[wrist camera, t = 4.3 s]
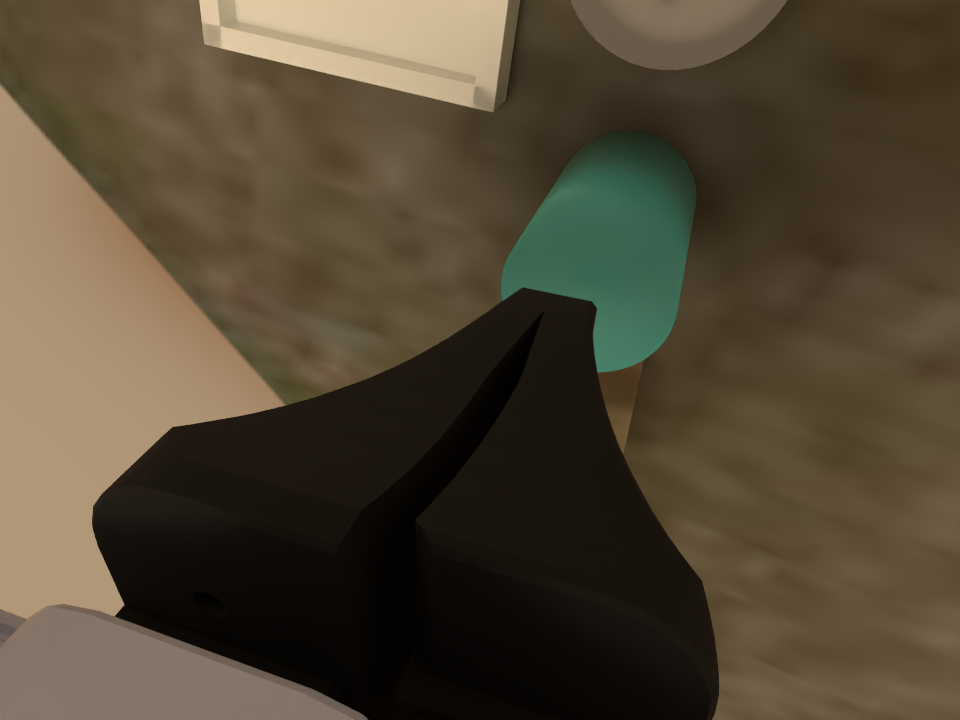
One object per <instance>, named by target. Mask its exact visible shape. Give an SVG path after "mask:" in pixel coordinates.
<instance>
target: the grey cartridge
mask: <svg viewBox="0 0 960 720" xmlns="http://www.w3.org/2000/svg"><path fill="white" fill-rule="evenodd" d="M570 2H571V4H572V6H573V8H574V10H575V12H576V14H577V16H578V18H579V19H580V21H581V22H582V24H583V25H584V27H585V28H586V30H587V31H588V32H589V33H590V34H591V35H592V36H593V37H594V39H595V40H596V41H597V42H599V43H600V44H601V45H602V46H603V47H604V48H606V49H607V50H608V51H610V52H611V53H613V54H614V55H616V56H618V57H619V58H621V59H623V60H626V61H628V62H630V63H632V64H635V65H639V66H642V67H646V68H652V69H658V70H680V69H688V68H694V67H698V66H701V65H705V64H708V63H711V62H713V61H716V60H718V59H721V58H723V57H725V56H727V55H729V54H730V53H732V52H734V51H736V50H738V49H739V48H741V47H742V46H743V45H745V44H746V43H748V42H749V41H750V40H752V39H753V38H754V37H755V36H756V35H757V34H759V33H760V32H761V31H762V30H763V29H764V28H765V27H766V26H767V25H768V24H769V23H770V22H771V21H772V20H773V18H774V17H775V16H776V15H777V14H778V13H779V11H780V10H781V9H782V7H783V6H784V4H785V3H786V2H787V0H570Z"/></svg>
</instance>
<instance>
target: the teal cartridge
mask: <svg viewBox="0 0 960 720" xmlns="http://www.w3.org/2000/svg"><path fill="white" fill-rule="evenodd" d="M696 201H697V194H696V185H695V180H694V177H693V174H692V172H691V170H690V168H689V166H688V164H687V163H686V161H685V160H684V158H683V157H682V156H681V155H680V153H679V152H678V151H677V150H676V149H674V148H673V147H672V146H671V145H670V144H668V143H667V142H665V141H663V140H662V139H660V138H657V137H655V136H653V135H650V134H646V133H643V132H637V131H618V132H612V133H608V134H605V135H602V136H599V137H597V138H595V139H593V140H591V141H590V142H588V143H587V144H585V145H584V146H583V147H581V148H580V149H579V150H578V151H577V152H576V153H575V154H574V155H573V157H572V158H571V159H570V161H569V162H568V164H567V165H566V167H565V168H564V170H563V171H562V173H561V175H560V176H559V178H558V179H557V181H556V182H555V184H554V186H553V187H552V189H551V190H550V192H549V193H548V195H547V196H546V198H545V200H544V201H543V203H542V204H541V206H540V207H539V209H538V210H537V212H536V214H535V215H534V217H533V218H532V220H531V221H530V223H529V225H528V226H527V228H526V229H525V231H524V232H523V234H522V235H521V237H520V239H519V240H518V242H517V243H516V245H515V246H514V248H513V250H512V251H511V253H510V255H509V256H508V258H507V261H506V263H505V266H504V269H503V273H502V280H501V296H502V301H503V300H505V299H506V298H508V297H509V296H510V295H512V294H513V293H515V292H516V291H518V290H519V289H521V288H523V287H524V288H529V289H534V290H539V291H544V292H549V293H554V294H559V295H564V296H568V297H573V298H578V299H583V300H588V301H592V302H593V303H594V305H595V306H596V308H597V313H596V319H595V325H594V330H593V343H594V354H595V360H596V366H597V372H610V371H616V370H621V369H624V368H627V367H630V366H633V365H635V364H637V363H639V362H641V361H643V360H644V359H646V358H647V357H649V356H650V355H651V354H653V353H654V352H655V351H656V350H657V349H658V348H659V347H660V346H661V345H662V344H663V343H664V341H665V340H666V338H667V337H668V335H669V334H670V332H671V329H672V327H673V325H674V322H675V319H676V315H677V310H678V304H679V299H680V293H681V287H682V282H683V276H684V271H685V265H686V259H687V254H688V248H689V242H690V237H691V231H692V225H693V220H694V214H695V209H696Z"/></svg>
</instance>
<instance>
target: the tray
mask: <svg viewBox="0 0 960 720" xmlns="http://www.w3.org/2000/svg"><path fill="white" fill-rule="evenodd" d="M199 1H200V9H201V18H202V27H203V35H204V44H206V45H210V46H214V47H218V48H222V49H227V50H231V51H235V52H239V53H244V54H248V55H252V56H256V57H260V58H265V59H269V60H273V61H277V62H282V63H286V64H290V65H294V66H298V67H303V68H307V69H311V70H315V71H320V72H324V73H328V74H332V75H336V76H341V77H345V78H349V79H353V80H358V81H362V82H366V83H370V84H375V85H379V86H383V87H387V88H391V89H396V90H400V91H404V92H408V93H413V94H417V95H421V96H425V97H429V98H434V99H438V100H442V101H446V102H451V103H455V104H459V105H463V106H467V107H472V108H476V109H480V110H484V111H489V112H494V111H495V110H497V109H498V108H499V107H500V106H501V105H502V104H503V103H504V102H505V101H506V95H507V89H508V82H509V75H510V68H511V61H512V54H513V47H514V40H515V34H516V27H517V20H518V13H519V6H520V0H199Z"/></svg>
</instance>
